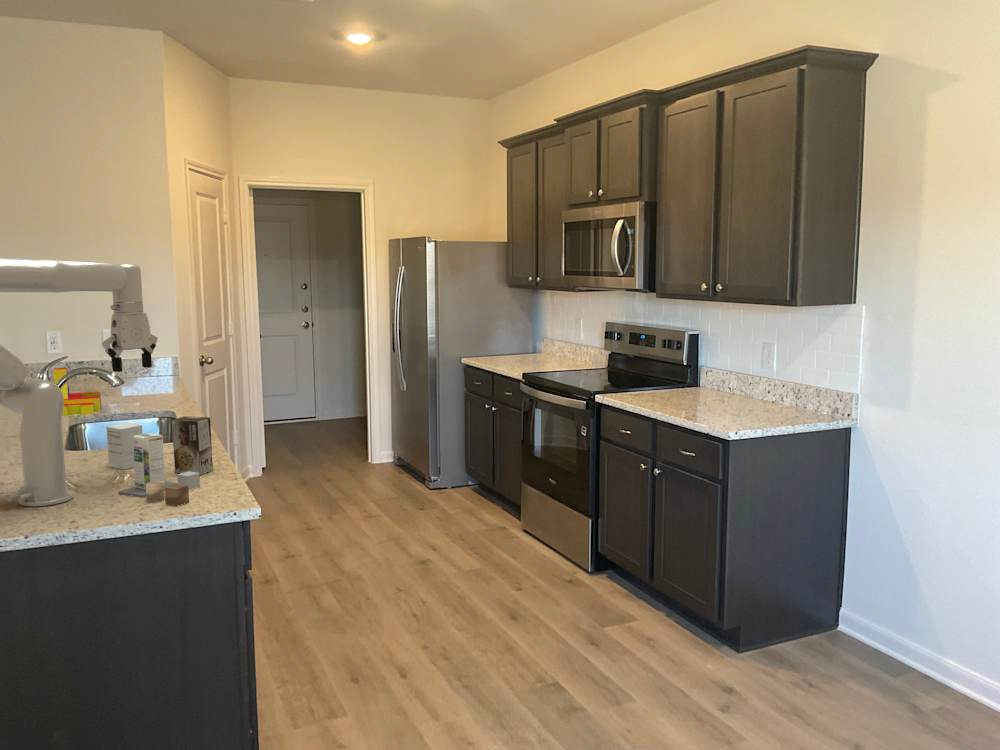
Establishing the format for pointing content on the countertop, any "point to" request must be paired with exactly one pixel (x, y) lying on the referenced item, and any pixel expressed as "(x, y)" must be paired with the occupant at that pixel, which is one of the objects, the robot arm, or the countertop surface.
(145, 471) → the syrup box
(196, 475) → the grey block
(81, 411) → the building blocks toy
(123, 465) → the supplement box
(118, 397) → the countertop surface
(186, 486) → the walnut block
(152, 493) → the birch cylinder
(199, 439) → the coffee box
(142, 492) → the slate mat
